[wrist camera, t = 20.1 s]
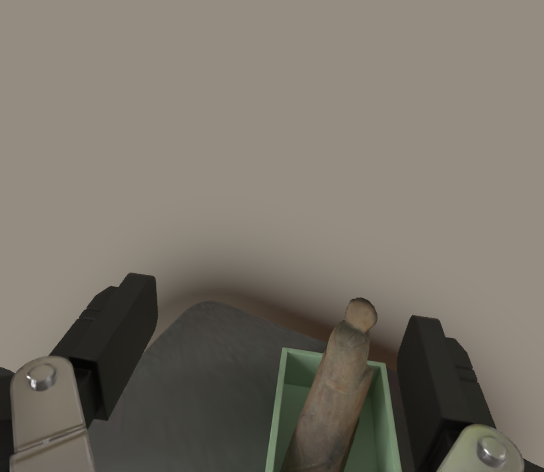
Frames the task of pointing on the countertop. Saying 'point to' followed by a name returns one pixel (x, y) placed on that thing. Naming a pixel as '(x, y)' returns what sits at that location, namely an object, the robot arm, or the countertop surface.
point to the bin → (373, 417)
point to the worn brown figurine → (335, 396)
